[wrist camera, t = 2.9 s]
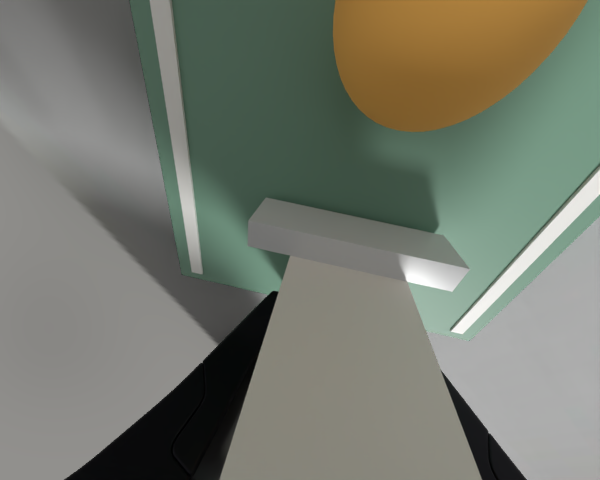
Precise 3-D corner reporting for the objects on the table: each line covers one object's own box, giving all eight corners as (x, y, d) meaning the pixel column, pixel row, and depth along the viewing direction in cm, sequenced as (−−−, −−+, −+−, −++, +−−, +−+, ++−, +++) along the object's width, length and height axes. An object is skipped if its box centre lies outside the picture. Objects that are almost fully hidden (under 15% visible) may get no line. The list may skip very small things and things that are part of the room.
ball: (445, 135, 7) (547, 168, 4) (321, 110, 7) (304, 119, 4) (544, -68, 5) (1069, -500, 1) (359, -98, 5) (407, -551, 1)
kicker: (392, 317, 11) (473, 644, 4) (258, 286, 11) (144, 551, 5) (444, 235, 8) (871, 782, 2) (265, 197, 9) (11, 534, 2)
